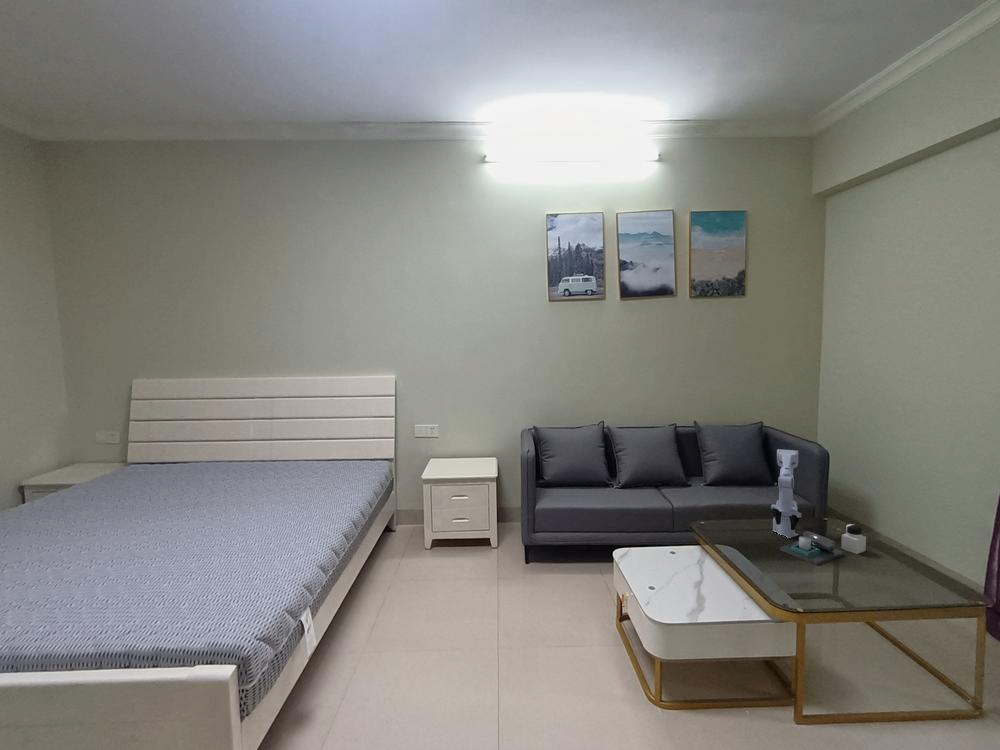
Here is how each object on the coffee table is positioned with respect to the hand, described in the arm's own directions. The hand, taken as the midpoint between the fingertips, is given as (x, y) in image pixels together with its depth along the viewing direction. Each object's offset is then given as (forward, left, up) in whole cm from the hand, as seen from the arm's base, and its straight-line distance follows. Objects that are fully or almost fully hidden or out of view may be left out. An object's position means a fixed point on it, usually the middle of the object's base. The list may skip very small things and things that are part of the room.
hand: (785, 526), depth 246 cm
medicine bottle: (+19, +22, -10) cm, 31 cm away
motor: (+11, +3, -9) cm, 15 cm away
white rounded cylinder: (+11, -2, -8) cm, 14 cm away
